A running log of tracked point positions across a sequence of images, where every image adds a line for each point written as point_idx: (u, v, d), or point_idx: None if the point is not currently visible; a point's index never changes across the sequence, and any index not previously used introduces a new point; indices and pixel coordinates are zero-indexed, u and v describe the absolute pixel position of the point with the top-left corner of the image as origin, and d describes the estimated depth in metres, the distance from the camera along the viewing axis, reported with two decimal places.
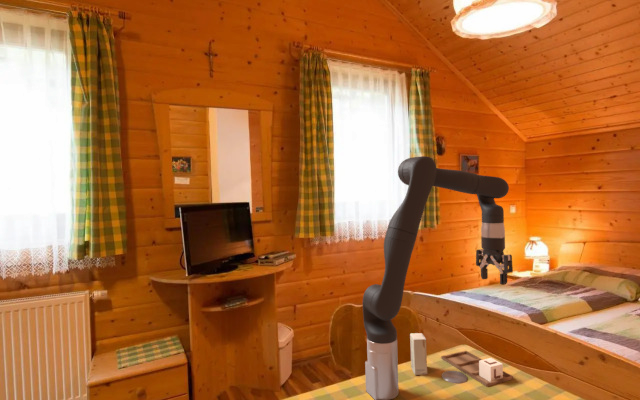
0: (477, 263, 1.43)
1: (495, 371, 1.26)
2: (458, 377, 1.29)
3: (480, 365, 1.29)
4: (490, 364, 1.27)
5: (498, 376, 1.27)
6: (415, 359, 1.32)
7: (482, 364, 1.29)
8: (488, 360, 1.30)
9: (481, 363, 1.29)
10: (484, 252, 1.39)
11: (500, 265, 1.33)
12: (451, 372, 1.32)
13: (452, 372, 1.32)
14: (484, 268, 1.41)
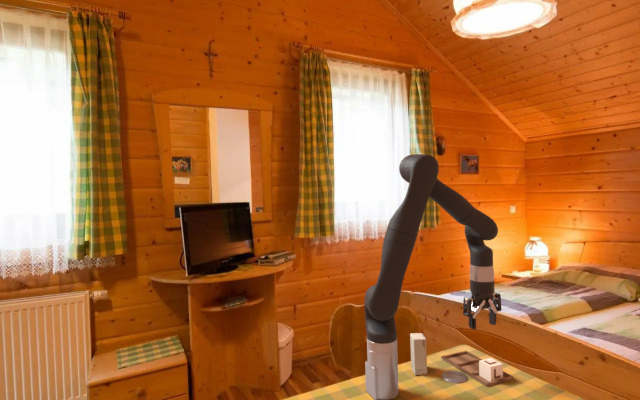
0: (470, 314, 1.28)
1: (495, 371, 1.26)
2: (458, 377, 1.29)
3: (480, 365, 1.29)
4: (490, 364, 1.27)
5: (498, 376, 1.27)
6: (415, 359, 1.32)
7: (482, 364, 1.29)
8: (488, 360, 1.30)
9: (481, 363, 1.29)
10: (478, 299, 1.29)
11: None
12: (451, 372, 1.32)
13: (452, 372, 1.32)
14: None
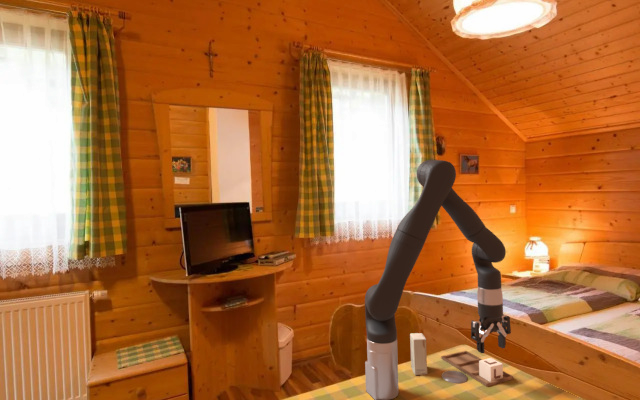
0: (478, 338, 1.25)
1: (495, 371, 1.26)
2: (458, 377, 1.29)
3: (480, 365, 1.29)
4: (490, 364, 1.27)
5: (498, 376, 1.27)
6: (415, 359, 1.32)
7: (482, 364, 1.29)
8: (488, 360, 1.30)
9: (481, 363, 1.29)
10: (486, 322, 1.26)
11: None
12: (451, 372, 1.32)
13: (452, 372, 1.32)
14: None
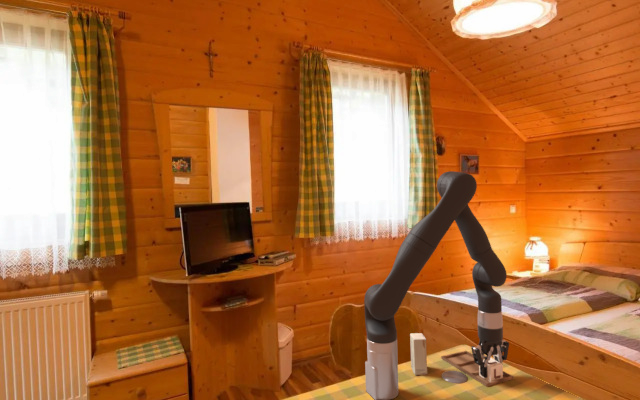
0: (481, 363, 1.26)
1: (495, 371, 1.26)
2: (458, 377, 1.29)
3: None
4: (490, 364, 1.27)
5: (498, 376, 1.27)
6: (415, 359, 1.32)
7: None
8: None
9: None
10: (485, 345, 1.26)
11: None
12: (451, 372, 1.32)
13: (452, 372, 1.32)
14: None
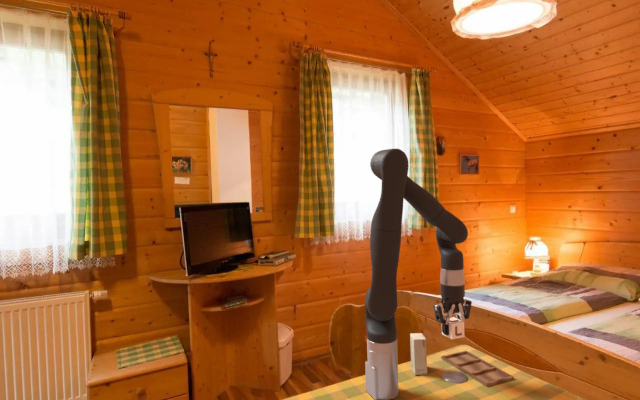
0: (442, 320, 1.26)
1: (456, 328, 1.27)
2: (458, 377, 1.29)
3: None
4: (452, 322, 1.27)
5: (459, 333, 1.27)
6: (415, 359, 1.32)
7: None
8: (450, 319, 1.30)
9: None
10: (447, 303, 1.27)
11: None
12: (451, 372, 1.32)
13: (452, 372, 1.32)
14: None
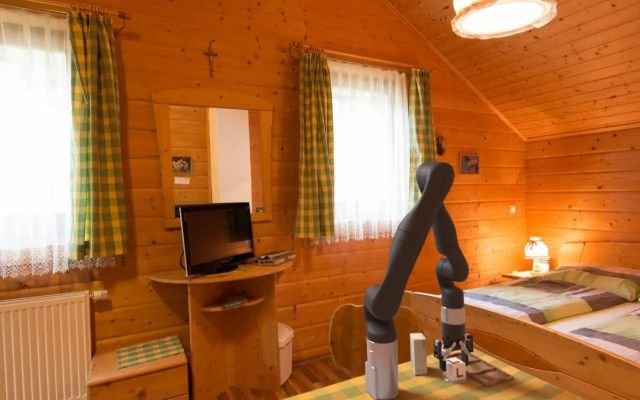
0: (440, 357, 1.26)
1: (457, 370, 1.27)
2: None
3: None
4: (453, 363, 1.28)
5: (460, 375, 1.28)
6: (415, 359, 1.32)
7: None
8: (452, 359, 1.31)
9: None
10: (448, 341, 1.27)
11: None
12: None
13: None
14: None
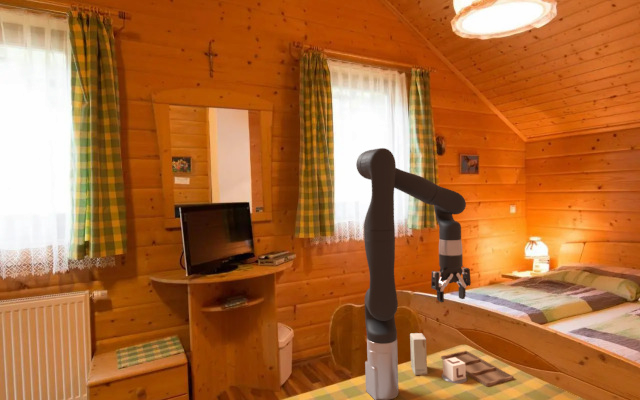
0: (437, 287, 1.29)
1: (457, 370, 1.27)
2: None
3: (444, 364, 1.31)
4: (453, 363, 1.28)
5: (460, 375, 1.28)
6: (415, 359, 1.32)
7: (445, 363, 1.30)
8: (452, 359, 1.31)
9: (444, 362, 1.30)
10: (445, 272, 1.31)
11: None
12: None
13: None
14: None
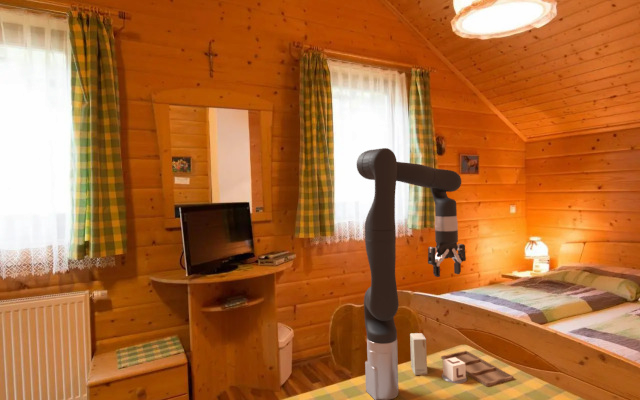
0: (434, 262, 1.34)
1: (457, 370, 1.27)
2: None
3: (444, 364, 1.31)
4: (453, 363, 1.28)
5: (460, 375, 1.28)
6: (415, 359, 1.32)
7: (445, 363, 1.30)
8: (452, 359, 1.31)
9: (444, 362, 1.30)
10: (441, 248, 1.35)
11: None
12: None
13: None
14: None
